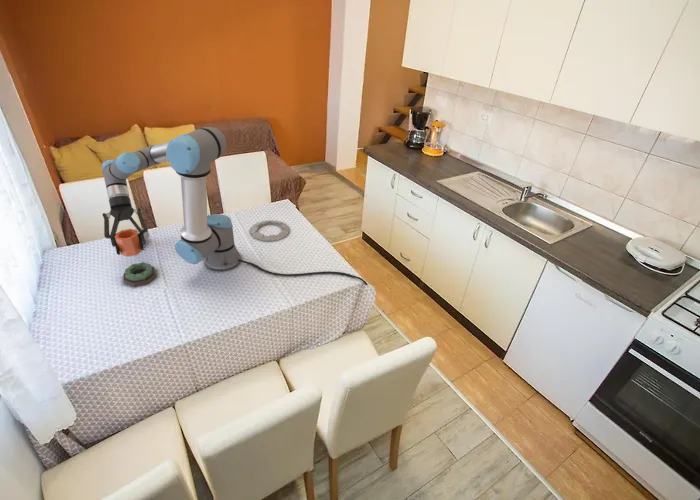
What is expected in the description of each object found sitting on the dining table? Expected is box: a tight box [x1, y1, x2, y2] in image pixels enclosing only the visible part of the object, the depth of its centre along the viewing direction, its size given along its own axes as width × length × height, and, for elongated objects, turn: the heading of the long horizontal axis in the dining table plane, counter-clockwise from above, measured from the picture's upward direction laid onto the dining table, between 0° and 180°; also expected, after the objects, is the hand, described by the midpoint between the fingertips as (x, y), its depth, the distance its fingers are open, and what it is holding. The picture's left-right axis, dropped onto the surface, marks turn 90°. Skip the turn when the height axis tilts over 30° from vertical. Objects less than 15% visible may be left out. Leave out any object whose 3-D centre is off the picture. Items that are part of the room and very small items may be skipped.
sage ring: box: [124, 261, 153, 281], centre depth 161 cm, size 10×10×2 cm
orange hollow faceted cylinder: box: [115, 228, 143, 258], centre depth 152 cm, size 8×8×8 cm
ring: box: [250, 220, 290, 242], centre depth 199 cm, size 19×19×2 cm
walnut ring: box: [123, 266, 157, 288], centre depth 162 cm, size 12×12×2 cm
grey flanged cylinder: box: [134, 227, 150, 248], centre depth 180 cm, size 11×8×8 cm
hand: (130, 251), depth 151 cm, fingers closed on orange hollow faceted cylinder, 8 cm apart
